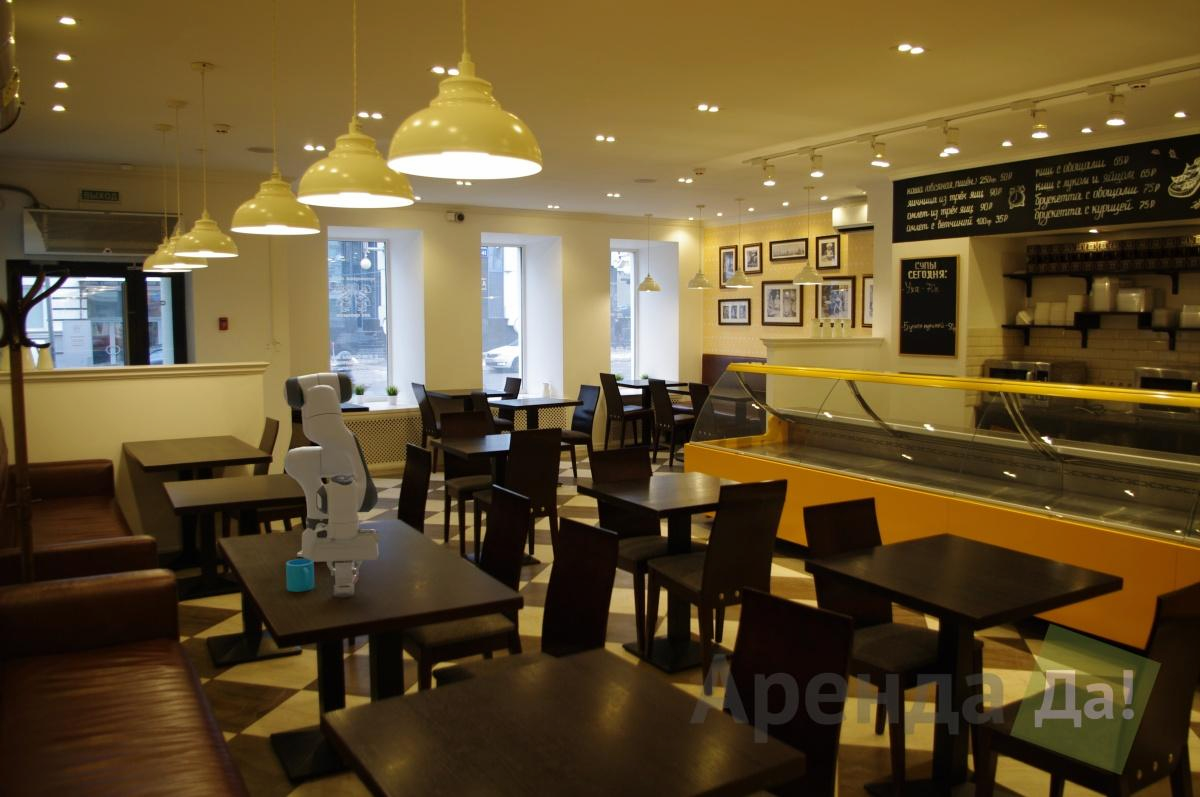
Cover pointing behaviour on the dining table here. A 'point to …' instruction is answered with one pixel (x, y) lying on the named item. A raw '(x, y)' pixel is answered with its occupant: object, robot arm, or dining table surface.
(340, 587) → the ratchet
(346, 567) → the brushed steel block
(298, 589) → the mug
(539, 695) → the dining table surface
